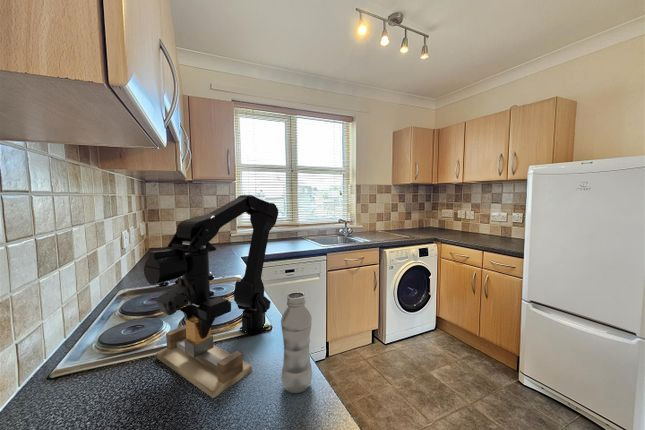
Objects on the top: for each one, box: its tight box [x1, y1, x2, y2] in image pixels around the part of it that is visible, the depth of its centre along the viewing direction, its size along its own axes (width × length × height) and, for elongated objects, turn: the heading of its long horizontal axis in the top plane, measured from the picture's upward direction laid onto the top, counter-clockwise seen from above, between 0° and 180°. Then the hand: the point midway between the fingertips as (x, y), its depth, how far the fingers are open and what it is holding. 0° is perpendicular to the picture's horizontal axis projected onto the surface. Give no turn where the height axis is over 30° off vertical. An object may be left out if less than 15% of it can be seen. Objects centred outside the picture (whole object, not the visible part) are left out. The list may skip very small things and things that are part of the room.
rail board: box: [156, 324, 253, 399], centre depth 64 cm, size 10×24×6 cm, turn 56°
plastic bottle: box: [280, 291, 313, 394], centre depth 56 cm, size 6×7×20 cm
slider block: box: [184, 317, 214, 358], centre depth 64 cm, size 5×4×8 cm
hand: (198, 335), depth 64 cm, fingers closed on slider block, 4 cm apart
